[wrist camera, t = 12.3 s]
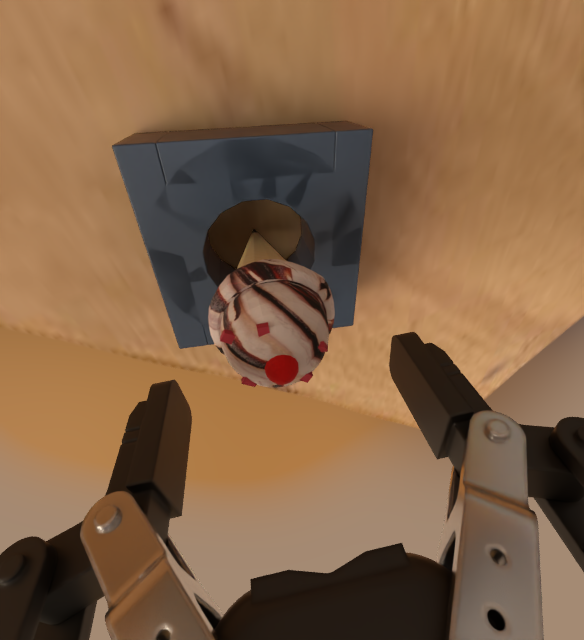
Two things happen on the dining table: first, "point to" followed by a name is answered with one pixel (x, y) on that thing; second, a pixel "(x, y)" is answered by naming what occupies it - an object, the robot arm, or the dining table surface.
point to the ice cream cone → (271, 317)
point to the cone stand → (246, 185)
